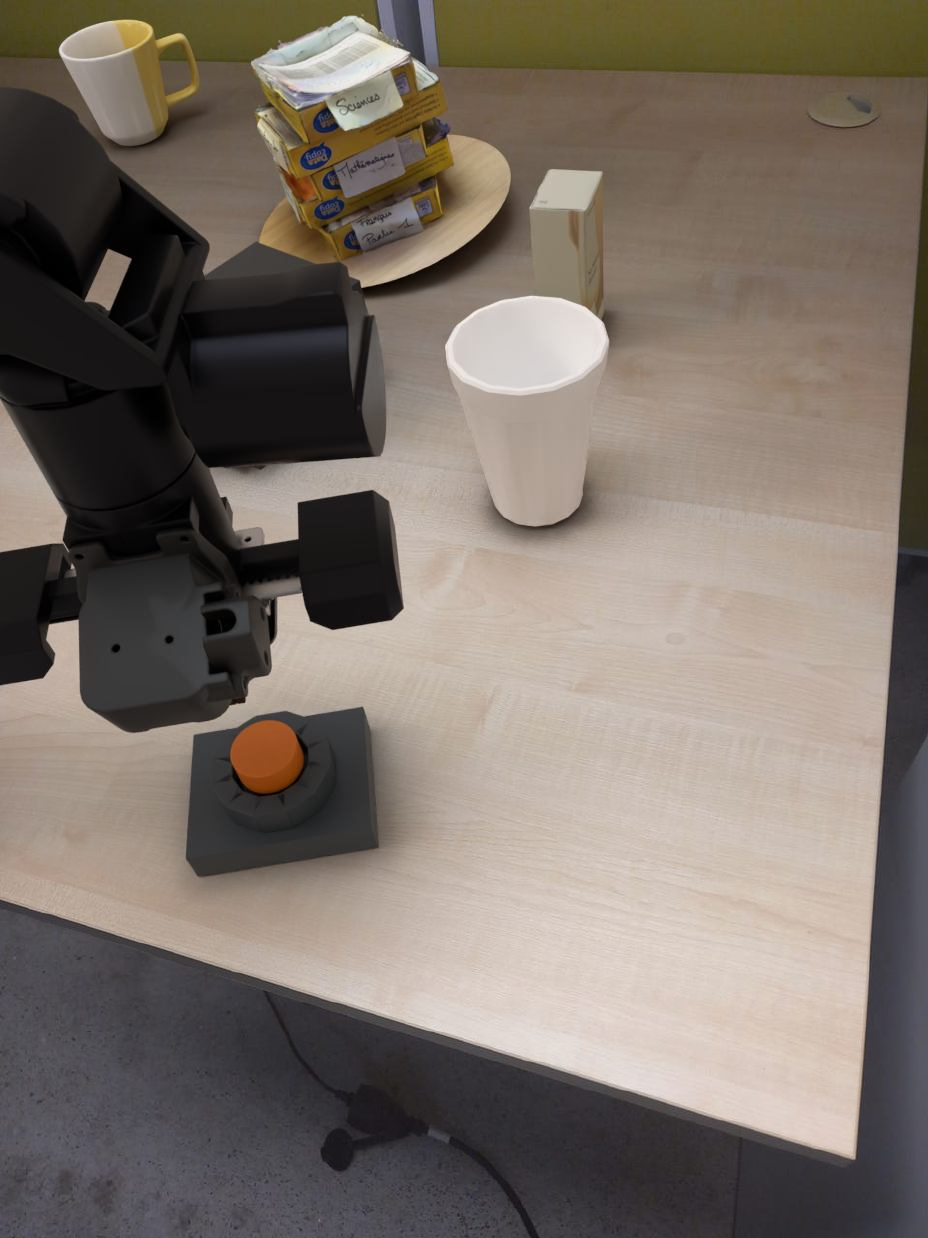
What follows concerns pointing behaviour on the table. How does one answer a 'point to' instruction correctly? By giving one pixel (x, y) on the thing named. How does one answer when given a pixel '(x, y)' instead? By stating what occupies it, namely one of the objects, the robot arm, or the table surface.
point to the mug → (125, 78)
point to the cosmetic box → (569, 238)
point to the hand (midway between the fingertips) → (238, 697)
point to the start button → (267, 756)
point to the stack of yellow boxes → (369, 156)
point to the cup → (530, 400)
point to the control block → (284, 798)
